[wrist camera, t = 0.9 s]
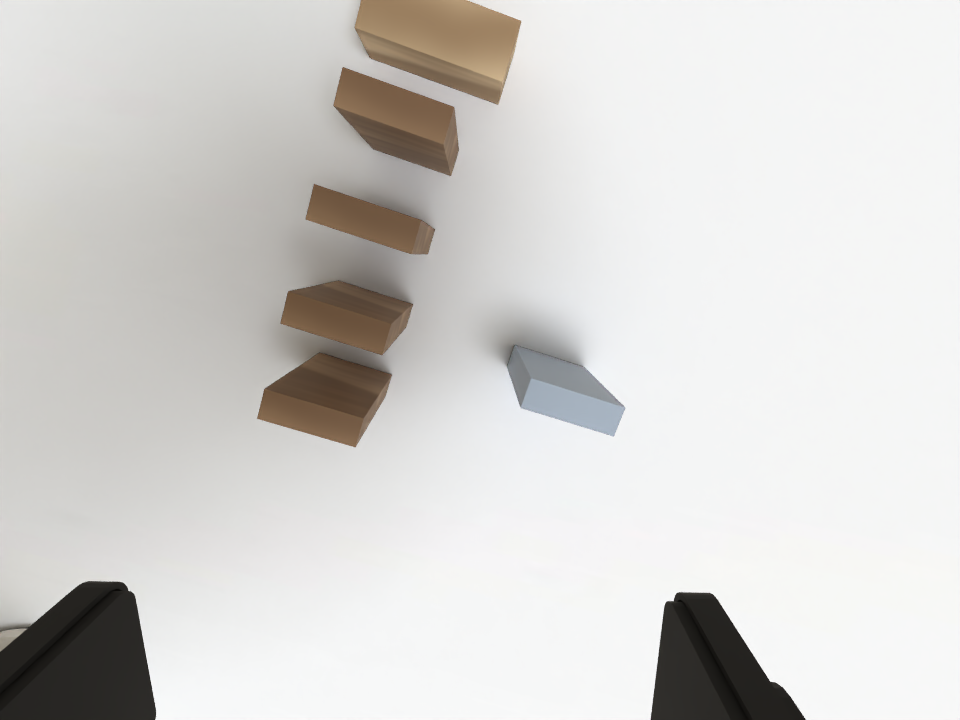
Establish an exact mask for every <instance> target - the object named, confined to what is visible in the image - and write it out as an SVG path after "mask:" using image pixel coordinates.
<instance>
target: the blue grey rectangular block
mask: <svg viewBox="0 0 960 720" xmlns="http://www.w3.org/2000/svg"><path fill="white" fill-rule="evenodd" d="M507 368H508V371H509V374H510V377H511V380H512V383H513V386H514V389H515V392H516V395H517V398H518V401H519V404H520V407H521V408H523V409H526V410H529V411H533V412H536V413H539V414H542V415H546V416H549V417H552V418H555V419H559V420H562V421H565V422H568V423H572V424H575V425H578V426H581V427H585V428H588V429H591V430H594V431H598V432H601V433H604V434H607V435H611V436H614V435H615V432H616V430H617V427H618V425H619V422H620V420H621V417H622V415H623V412H624V410H625V407H624V406H623V405H622V404H621V403H620V402H619V401H618V400H617V399H616V398H615V397H614V396H613V395H612V394H611V393H610V392H609V391H608V390H607V389H606V388H605V387H604V386H603V385H602V384H601V383H600V382H599V381H598V380H597V379H596V378H595V377H594V376H593V375H592V374H591V373H590V372H589V371H588V370H587V369H586V368H585V367H583V366H579V365H576V364H573V363H570V362H567V361H564V360H561V359H558V358H554V357H551V356H548V355H545V354H542V353H539V352H536V351H532V350H529V349H526V348H523V347H520V346H517V345H515V346H514V348H513V351H512V354H511V357H510V360H509V363H508V366H507Z"/></svg>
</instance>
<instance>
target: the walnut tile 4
mask: <svg viewBox="0 0 960 720" xmlns="http://www.w3.org/2000/svg"><path fill="white" fill-rule="evenodd" d="M333 106H334V107H335V108H336V109H337V110H338V111H339V112H340V113H341V115H342V116H343V117H344V118H345V119H346V120H347V121H348V122H349V123H350V124H351V125H352V127H353V128H354V129H355V130H356V131H357V132H358V133H359V134H360V135H361V136H362V137H363V138H364V140H365V141H366V142H367V143H368V144H369V145H370V146H371V147H372V148H373V149H375V150H377V151H380V152H383V153H386V154H389V155H392V156H395V157H398V158H401V159H403V160H406V161H409V162H412V163H415V164H418V165H421V166H424V167H427V168H429V169H432V170H435V171H438V172H441V173H444V174H447V175H450V176H451V174H452V171H453V168H454V164H455V161H456V158H457V154H458V151H459V147H458V138H457V128H456V119H455V109H454V107H452V106H450V105H447V104H444V103H441V102H438V101H436V100H433V99H430V98H427V97H425V96H422V95H419V94H416V93H413V92H411V91H408V90H405V89H402V88H399V87H397V86H394V85H391V84H388V83H386V82H383V81H380V80H377V79H374V78H372V77H369V76H366V75H363V74H360V73H358V72H355V71H352V70H349V69H347V68H344V67H343V68H342V72H341V76H340V80H339V85H338V89H337V93H336V97H335V101H334V105H333Z"/></svg>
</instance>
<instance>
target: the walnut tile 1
mask: <svg viewBox="0 0 960 720" xmlns="http://www.w3.org/2000/svg"><path fill="white" fill-rule="evenodd" d="M391 376H392V375H391V374H388V373H385V372H381V371H378V370H375V369H372V368H368V367H365V366H362V365H359V364H355V363H352V362H349V361H346V360H342V359H339V358H336V357H333V356H329V355H326V354H323V353H318V354H317V355H315V356H314V357H312V358H311V359H309V360H308V361H306V362H305V363H303V364H302V365H300V366H298V367H297V368H295V369H294V370H292V371H291V372H289V373H288V374H286V375H285V376H283V377H282V378H280V379H279V380H277V381H276V382H274V383H273V384H271V385H270V386H268V387H267V388H265V389H264V393H263V397H262V401H261V405H260V409H259V413H258V417H257V419H260V420H264V421H267V422H270V423H274V424H277V425H281V426H284V427H288V428H291V429H295V430H298V431H301V432H305V433H308V434H312V435H315V436H319V437H322V438H325V439H329V440H332V441H336V442H339V443H343V444H346V445H349V446H353V447H356V445H357V444H358V442H359V440H360V439H361V437H362V435H363V434H364V432H365V430H366V429H367V427H368V425H369V423H370V422H371V420H372V418H373V417H374V415H375V413H376V412H377V410H378V408H379V407H380V405H381V403H382V401H383V400H384V398H385V396H386V393H387V390H388V386H389V383H390V380H391Z"/></svg>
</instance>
